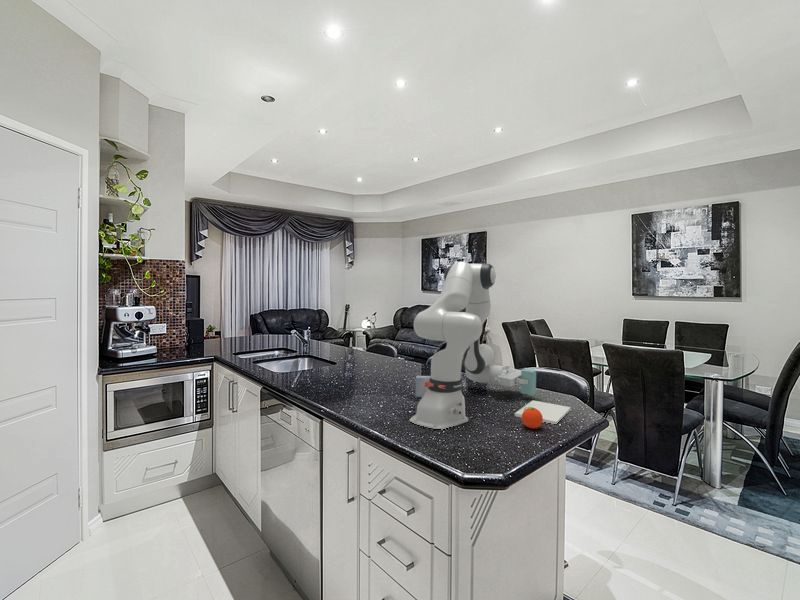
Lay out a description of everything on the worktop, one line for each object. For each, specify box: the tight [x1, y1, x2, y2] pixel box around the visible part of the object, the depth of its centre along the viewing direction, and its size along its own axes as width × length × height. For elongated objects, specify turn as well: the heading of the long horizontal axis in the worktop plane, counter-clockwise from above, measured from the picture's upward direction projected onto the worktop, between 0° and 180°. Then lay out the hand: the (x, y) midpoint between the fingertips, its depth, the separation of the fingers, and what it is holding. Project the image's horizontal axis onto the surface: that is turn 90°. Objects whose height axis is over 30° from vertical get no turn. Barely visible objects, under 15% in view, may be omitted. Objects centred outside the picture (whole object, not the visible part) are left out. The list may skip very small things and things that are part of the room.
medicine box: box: [414, 375, 431, 398], centre depth 172 cm, size 8×4×9 cm, turn 84°
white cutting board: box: [514, 399, 571, 425], centre depth 152 cm, size 22×15×1 cm
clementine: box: [521, 407, 544, 429], centre depth 136 cm, size 8×7×7 cm
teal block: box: [520, 368, 537, 396], centre depth 171 cm, size 5×5×10 cm
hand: (530, 380), depth 171 cm, fingers closed on teal block, 5 cm apart
